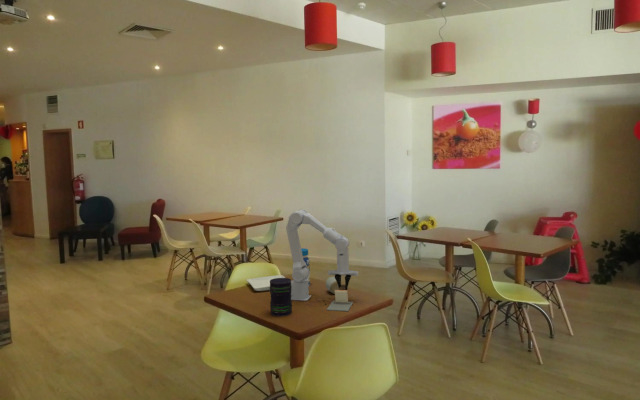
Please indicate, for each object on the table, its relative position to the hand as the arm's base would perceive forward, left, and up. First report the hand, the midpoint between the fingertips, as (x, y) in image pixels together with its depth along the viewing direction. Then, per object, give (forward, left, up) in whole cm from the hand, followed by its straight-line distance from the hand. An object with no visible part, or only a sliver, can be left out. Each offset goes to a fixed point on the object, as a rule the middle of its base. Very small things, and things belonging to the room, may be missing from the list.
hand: (343, 289), depth 229 cm
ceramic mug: (-6, +15, -6) cm, 17 cm away
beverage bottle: (-27, +25, -6) cm, 38 cm away
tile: (0, -4, -5) cm, 6 cm away
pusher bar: (0, 0, -3) cm, 3 cm away
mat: (0, -8, -6) cm, 10 cm away
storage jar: (-24, -22, -6) cm, 33 cm away
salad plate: (-45, +20, -6) cm, 50 cm away
